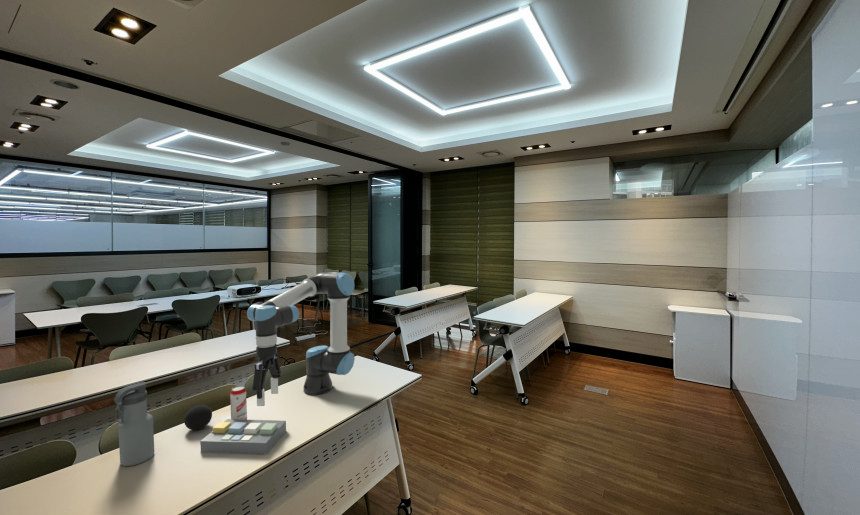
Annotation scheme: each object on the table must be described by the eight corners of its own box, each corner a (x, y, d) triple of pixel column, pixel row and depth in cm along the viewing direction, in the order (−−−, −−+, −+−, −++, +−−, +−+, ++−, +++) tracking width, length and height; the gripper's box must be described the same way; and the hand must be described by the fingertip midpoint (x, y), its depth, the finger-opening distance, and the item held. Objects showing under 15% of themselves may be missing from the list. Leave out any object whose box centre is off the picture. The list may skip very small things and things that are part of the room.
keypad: (227, 429, 146) (227, 418, 146) (286, 430, 145) (285, 420, 145) (200, 452, 130) (200, 440, 130) (266, 454, 129) (265, 442, 129)
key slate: (235, 427, 140) (235, 422, 140) (246, 428, 140) (246, 422, 140) (228, 434, 135) (228, 428, 135) (239, 434, 135) (239, 428, 135)
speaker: (203, 420, 154) (203, 398, 153) (217, 425, 149) (216, 403, 149) (179, 431, 145) (178, 408, 144) (193, 437, 140) (192, 413, 140)
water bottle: (124, 471, 120) (120, 394, 118) (114, 462, 125) (110, 387, 123) (159, 456, 128) (155, 383, 127) (148, 447, 133) (145, 378, 132)
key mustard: (220, 427, 140) (220, 421, 140) (231, 427, 140) (231, 422, 140) (213, 433, 136) (212, 427, 136) (224, 434, 136) (223, 428, 135)
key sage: (266, 428, 139) (266, 422, 139) (277, 428, 139) (276, 423, 139) (260, 435, 135) (259, 429, 135) (271, 435, 135) (271, 429, 134)
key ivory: (250, 428, 140) (250, 422, 140) (261, 428, 139) (261, 422, 139) (244, 434, 135) (244, 428, 135) (255, 434, 135) (255, 429, 135)
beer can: (250, 420, 153) (249, 386, 152) (238, 428, 147) (237, 392, 146) (239, 418, 155) (238, 384, 154) (227, 425, 149) (226, 390, 148)
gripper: (271, 336, 146) (273, 387, 148) (240, 354, 124) (242, 413, 125) (288, 337, 146) (289, 387, 147) (260, 354, 124) (261, 413, 125)
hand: (268, 399), depth 136 cm, fingers open, 10 cm apart
